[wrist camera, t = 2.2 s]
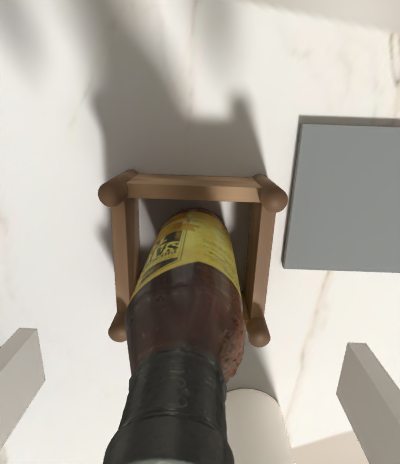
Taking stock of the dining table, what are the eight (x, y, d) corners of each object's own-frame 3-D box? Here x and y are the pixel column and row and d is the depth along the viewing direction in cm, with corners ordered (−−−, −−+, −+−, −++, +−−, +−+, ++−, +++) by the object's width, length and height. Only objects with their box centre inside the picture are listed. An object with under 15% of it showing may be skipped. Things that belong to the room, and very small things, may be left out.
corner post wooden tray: (127, 299, 29) (108, 341, 23) (121, 169, 25) (97, 181, 20) (256, 304, 29) (269, 347, 23) (270, 174, 25) (289, 188, 20)
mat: (282, 265, 28) (284, 268, 27) (300, 123, 24) (303, 123, 23) (416, 270, 28) (420, 273, 27) (456, 129, 24) (462, 129, 23)
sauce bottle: (175, 193, 26) (95, 372, 7) (242, 222, 27) (334, 456, 8) (147, 259, 28) (27, 538, 9) (210, 285, 29) (223, 592, 10)
